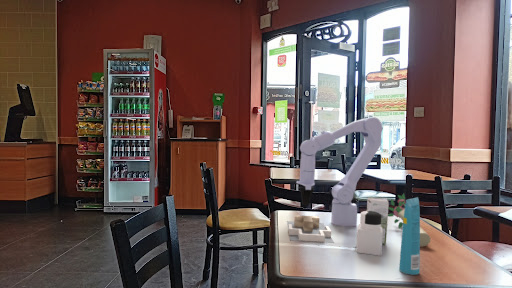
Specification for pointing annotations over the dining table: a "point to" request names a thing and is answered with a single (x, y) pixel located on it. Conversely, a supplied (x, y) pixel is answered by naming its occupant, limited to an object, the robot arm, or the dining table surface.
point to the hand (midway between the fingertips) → (305, 205)
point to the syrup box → (382, 208)
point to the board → (309, 232)
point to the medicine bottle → (370, 233)
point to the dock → (310, 236)
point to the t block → (306, 222)
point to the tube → (410, 238)
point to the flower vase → (400, 213)
